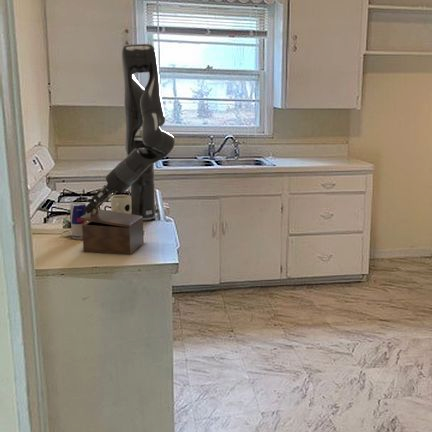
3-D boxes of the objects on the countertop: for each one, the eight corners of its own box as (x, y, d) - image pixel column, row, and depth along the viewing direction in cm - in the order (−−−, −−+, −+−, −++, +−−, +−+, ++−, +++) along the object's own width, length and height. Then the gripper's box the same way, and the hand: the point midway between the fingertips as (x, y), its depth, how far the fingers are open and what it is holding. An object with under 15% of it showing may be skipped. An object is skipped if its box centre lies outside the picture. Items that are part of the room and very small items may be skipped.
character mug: (126, 235, 205) (125, 200, 202) (107, 234, 205) (105, 199, 202) (136, 227, 215) (135, 194, 212) (118, 226, 216) (116, 193, 213)
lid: (79, 219, 183) (80, 204, 182) (95, 210, 195) (96, 196, 194) (129, 227, 182) (130, 212, 181) (142, 218, 194) (143, 204, 193)
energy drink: (82, 240, 198) (81, 206, 195) (68, 238, 199) (66, 205, 196) (91, 236, 203) (89, 203, 200) (77, 234, 204) (75, 201, 201)
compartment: (83, 251, 185) (82, 225, 183) (99, 240, 197) (98, 216, 195) (130, 254, 184) (129, 227, 182) (143, 243, 196) (142, 218, 194)
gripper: (124, 163, 191) (91, 196, 195) (106, 170, 177) (71, 205, 181) (140, 180, 192) (106, 212, 196) (124, 188, 178) (88, 223, 182)
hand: (90, 209), depth 188 cm, fingers closed on lid, 5 cm apart
